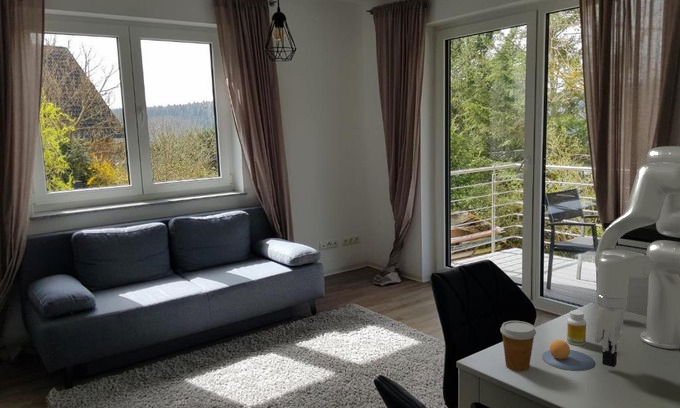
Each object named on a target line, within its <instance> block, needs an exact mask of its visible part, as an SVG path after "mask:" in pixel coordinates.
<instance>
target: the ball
mask: <svg viewBox="0 0 680 408" xmlns="http://www.w3.org/2000/svg"><path fill="white" fill-rule="evenodd" d="M549 350H550V353H551V355H552V356H553V357H555V358H556V359H560V360H561V359H565V358H567V357H568V356H569V354H570V350H571V347H570V346H569V343H568V342H567V341H566V342H565V341H564V340H562V339H556V340H553V341H552V342H551V343H550V345H549Z"/></svg>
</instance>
